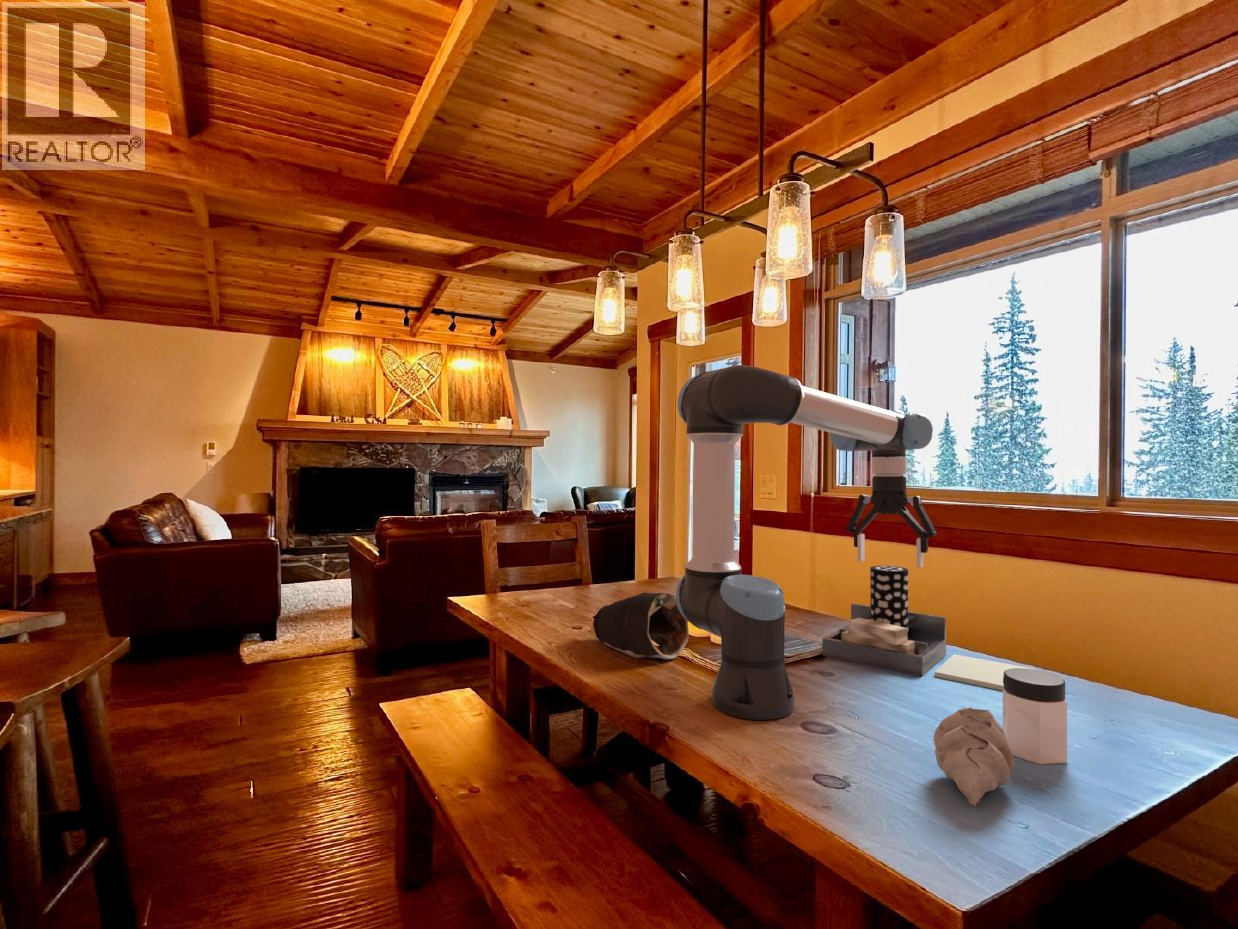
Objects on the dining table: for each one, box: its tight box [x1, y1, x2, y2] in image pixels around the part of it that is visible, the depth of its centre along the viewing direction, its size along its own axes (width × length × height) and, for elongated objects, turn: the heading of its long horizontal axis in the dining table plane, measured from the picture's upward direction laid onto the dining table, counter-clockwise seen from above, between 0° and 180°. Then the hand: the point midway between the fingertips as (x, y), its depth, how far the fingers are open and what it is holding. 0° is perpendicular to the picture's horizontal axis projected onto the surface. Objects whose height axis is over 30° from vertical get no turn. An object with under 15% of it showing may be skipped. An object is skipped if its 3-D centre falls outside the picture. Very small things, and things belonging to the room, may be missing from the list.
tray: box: [821, 602, 947, 677], centre depth 147 cm, size 22×19×9 cm
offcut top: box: [847, 618, 907, 645], centre depth 143 cm, size 12×4×3 cm, turn 35°
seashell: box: [933, 707, 1015, 807], centre depth 88 cm, size 10×15×10 cm
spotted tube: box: [869, 565, 909, 639], centre depth 150 cm, size 8×8×20 cm
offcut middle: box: [841, 630, 915, 654], centre depth 143 cm, size 15×4×3 cm, turn 45°
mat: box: [934, 653, 1037, 692], centre depth 133 cm, size 16×16×1 cm
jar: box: [1002, 668, 1068, 765], centre depth 98 cm, size 9×8×12 cm
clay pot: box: [591, 592, 690, 660], centre depth 153 cm, size 15×15×25 cm
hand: (889, 563), depth 150 cm, fingers open, 13 cm apart
